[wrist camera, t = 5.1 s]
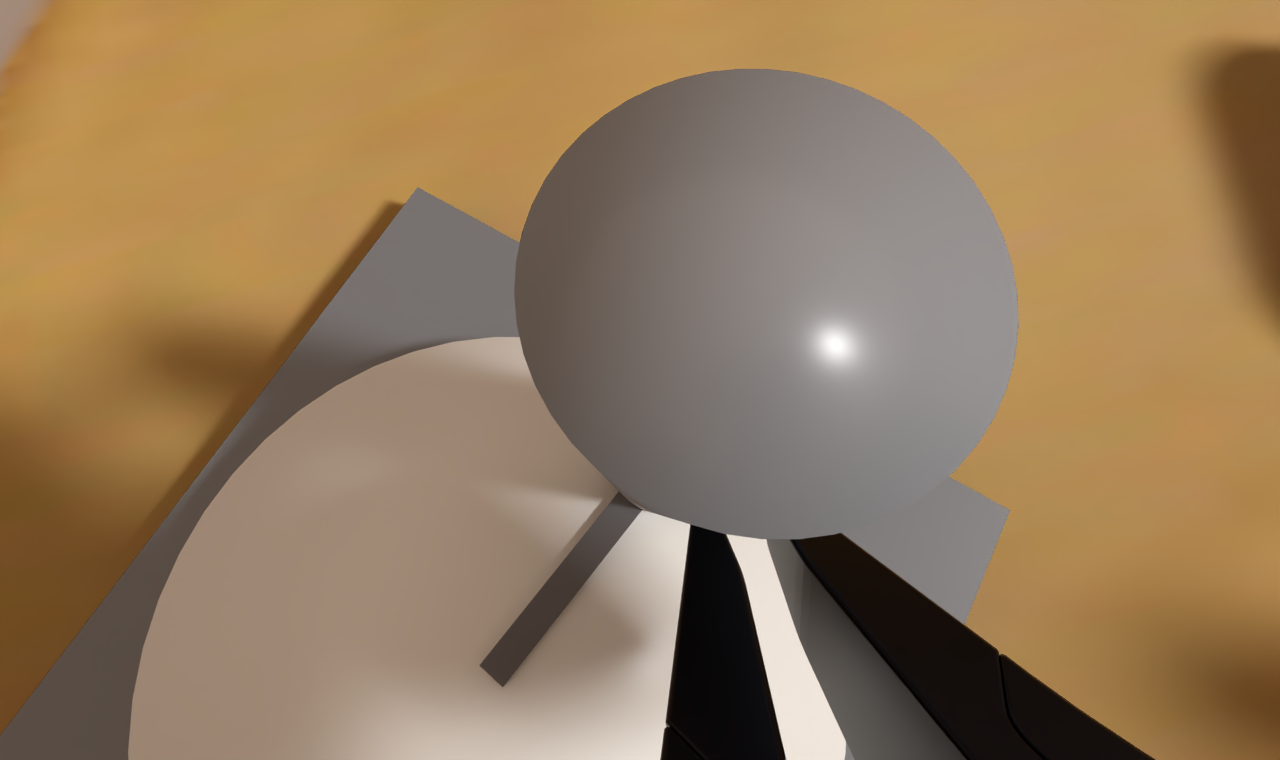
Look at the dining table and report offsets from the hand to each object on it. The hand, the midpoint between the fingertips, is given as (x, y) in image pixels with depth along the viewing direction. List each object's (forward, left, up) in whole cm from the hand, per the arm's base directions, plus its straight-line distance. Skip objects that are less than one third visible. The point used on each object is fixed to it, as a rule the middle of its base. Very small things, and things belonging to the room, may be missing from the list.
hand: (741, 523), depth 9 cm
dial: (-6, +3, -7) cm, 10 cm away
